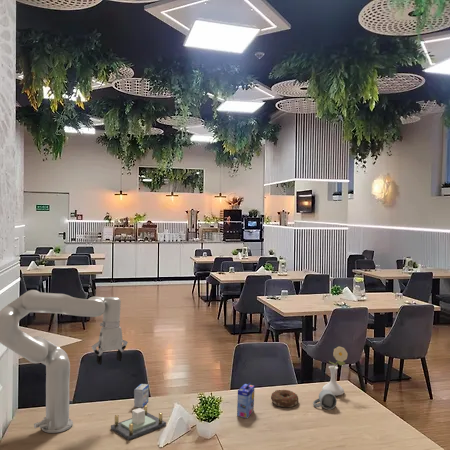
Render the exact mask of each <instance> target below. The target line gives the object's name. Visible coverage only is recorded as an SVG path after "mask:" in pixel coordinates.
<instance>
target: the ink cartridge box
mask: <svg viewBox="0 0 450 450" xmlns="http://www.w3.org/2000/svg"><path fill="white" fill-rule="evenodd" d="M255 387H256V385H253V384H251V381H250V382H249V383H248V384H247V383H244V384H243V385H242V386H241V387H240V388H238V390H237V399H236V400H237V403H236V404H237V405H236V410H237V411H236V415H237V417H240V418H243V419H248V418H249V417H250V415H251V414H253V412H254V410H255V408H254V407H255Z"/></svg>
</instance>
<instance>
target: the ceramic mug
mask: <svg viewBox="0 0 450 450" xmlns="http://www.w3.org/2000/svg"><path fill="white" fill-rule="evenodd" d="M337 402H338V400H337V398H336V395H333V393H332V392H331V391H329V390H322V389H321V390H320V392H319V394H318V398H317V399H315V400H313V402H312V404H313V407H314V408H319V407H322V408H323V409H325V410H328V411H329V410H333V409H334V408H335V407H336V406H337Z"/></svg>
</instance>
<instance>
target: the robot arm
mask: <svg viewBox="0 0 450 450" xmlns="http://www.w3.org/2000/svg"><path fill="white" fill-rule="evenodd" d="M121 303H122V300H121V298H119V297H117V296H108V297H105V296H104V297H103V296H91V297H89V298H88V299H87V298H78V297H75V296H74V297H73V296H71V295H69V294H65V293H56V292H55V293H53V292H40V291H39V290H37V289H30V290H27V291H26V292H24V293H23V294H21V295H20V296H18V297H17V298H15V299H14V300H13V301H11V302H10V303H8V304H7V305H5V306H4V307H3V308H1V310H0V344H1V345H3V346H4V347H6V348H7V349H9V350H10V351H12V352H14V353H15V354H16V355H18V356H20V357H22V358H24V359H25V360H27V361H28V362H30V363H32V364H40V363H41V364H42V365H44V366H45V374H46V375H45V416H44V417H43V420H41V421H39V422H35V423H34V424H33V427H34V429H37V428H39V429H41V430H42V431H43V432H45V433H48V434H56V433H58V434H59V433H62V432H65V431H67V430H68V431H69V430H70V429H71V428H72V427H73V425H74V423H73V420H72V419H71V418H70V374H71V362H70V358H69V355H68V353H67V352H66V351H65V350H64V349H63V348H61V347H60V346H58V345H57V344H54V343H53V342H52V341H50V340H48V339H46V338H45V337H43V336H40V335H39V336H31V335H30V334H28V333H27V332H25V331H23V330H21V329H20V327H18V325H19V322H20V321H21V319H23V318H24V317H26V316H27V315H29V314H31V313H42V314H43V313H44V314H62V315H67V316H75V317H88V318H89V317H91V318H96V317H100V316H102V322H100V323H99V326H100V331H99V336H98V341H97V342H96V343H93V345H91V349H92V352H93V353H94V354H95V355H96V363H97V364H98V365H99V366H100V365H102V362H103V355H102V354H103V352H111V351H116V361H119V362H121V361H122V358H123V352H124V350H125V349H126V348H127V346H128V342H129V341H127V340H124V339H123V330H122V327H121V326H120V324H121V323H120V322H121V305H122V304H121ZM97 348H98V349H97Z"/></svg>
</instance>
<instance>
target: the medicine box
mask: <svg viewBox="0 0 450 450" xmlns="http://www.w3.org/2000/svg"><path fill="white" fill-rule="evenodd" d="M149 388H150V387H149V384H147V383H140V384H139V385H138V386H137V387H136V388H134V391H133V395H134V397H133V399H134V401H133V402H134V403H133V404H134V405H133V406H134V408H141V409H144V405H147V403H149Z"/></svg>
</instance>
